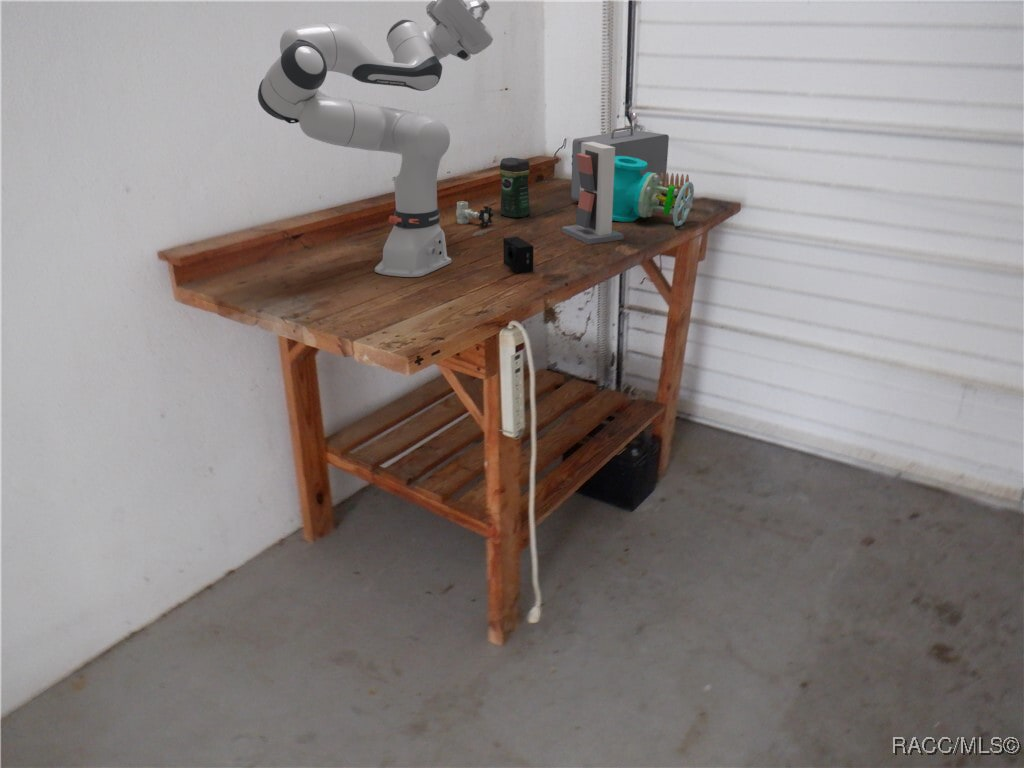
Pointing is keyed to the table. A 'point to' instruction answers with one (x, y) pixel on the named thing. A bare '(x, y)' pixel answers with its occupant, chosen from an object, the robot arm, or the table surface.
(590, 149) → the tower
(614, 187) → the valve
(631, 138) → the vintage electronic device
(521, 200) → the coffee jar
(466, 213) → the valve
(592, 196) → the lower rocker
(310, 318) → the table surface
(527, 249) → the digital camera
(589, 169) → the upper rocker
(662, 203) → the ammunition clip
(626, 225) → the table surface
